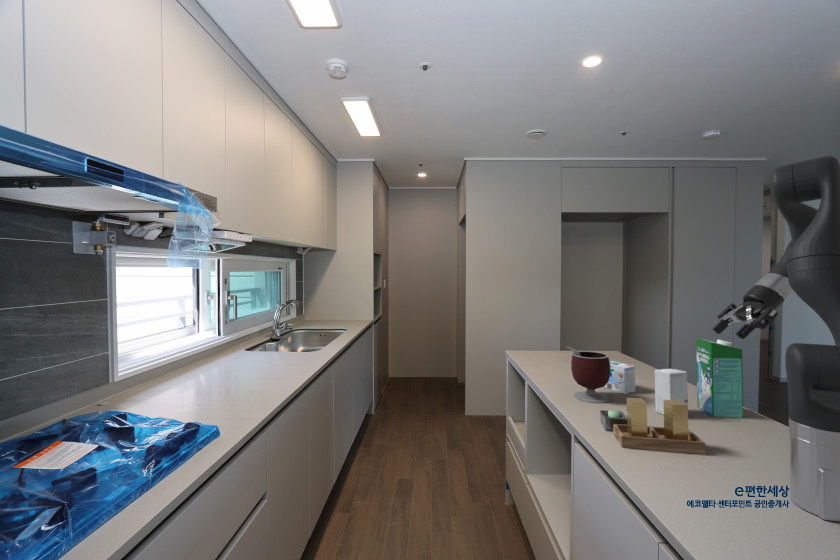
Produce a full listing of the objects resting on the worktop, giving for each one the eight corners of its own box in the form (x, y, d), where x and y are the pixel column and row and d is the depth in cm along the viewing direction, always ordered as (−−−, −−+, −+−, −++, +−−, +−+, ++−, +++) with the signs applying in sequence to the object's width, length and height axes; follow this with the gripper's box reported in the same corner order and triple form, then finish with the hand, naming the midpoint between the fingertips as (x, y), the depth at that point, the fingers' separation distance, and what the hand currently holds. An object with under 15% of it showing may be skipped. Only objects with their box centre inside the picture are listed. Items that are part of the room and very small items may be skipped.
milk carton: (743, 418, 118) (742, 342, 117) (712, 416, 119) (711, 342, 119) (726, 408, 126) (724, 337, 126) (697, 406, 128) (696, 337, 128)
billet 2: (688, 444, 98) (687, 405, 98) (673, 444, 99) (672, 405, 99) (678, 438, 102) (677, 400, 102) (664, 438, 103) (663, 400, 103)
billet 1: (647, 442, 100) (646, 403, 100) (631, 440, 101) (630, 402, 101) (642, 435, 104) (641, 398, 104) (627, 434, 105) (626, 397, 105)
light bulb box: (601, 387, 153) (601, 362, 153) (612, 384, 156) (611, 360, 156) (625, 394, 143) (624, 367, 143) (636, 391, 146) (635, 365, 146)
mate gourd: (606, 393, 145) (605, 344, 145) (614, 405, 132) (613, 351, 132) (565, 390, 150) (564, 343, 149) (569, 402, 136) (568, 349, 136)
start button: (621, 427, 111) (620, 414, 111) (609, 426, 112) (609, 413, 112) (618, 422, 114) (617, 410, 114) (607, 422, 115) (606, 409, 115)
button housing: (628, 432, 109) (628, 419, 109) (605, 430, 111) (605, 417, 111) (622, 423, 115) (622, 411, 115) (600, 422, 117) (600, 410, 117)
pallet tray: (705, 454, 95) (705, 443, 95) (622, 447, 100) (621, 436, 100) (689, 439, 104) (688, 429, 104) (613, 433, 109) (612, 423, 109)
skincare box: (670, 418, 119) (670, 373, 119) (654, 411, 125) (653, 369, 125) (689, 414, 121) (688, 371, 121) (672, 408, 127) (671, 367, 127)
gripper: (738, 283, 108) (699, 321, 109) (782, 284, 94) (736, 328, 95) (757, 300, 108) (718, 339, 108) (804, 304, 93) (758, 348, 94)
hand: (726, 334), depth 102 cm, fingers open, 8 cm apart
